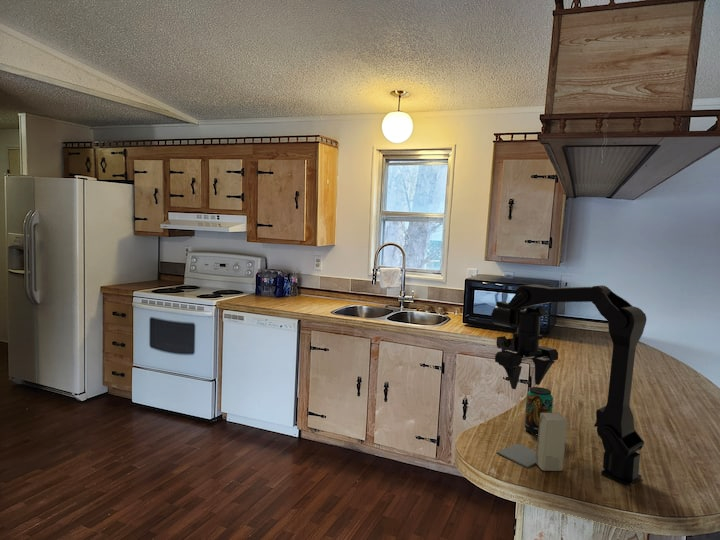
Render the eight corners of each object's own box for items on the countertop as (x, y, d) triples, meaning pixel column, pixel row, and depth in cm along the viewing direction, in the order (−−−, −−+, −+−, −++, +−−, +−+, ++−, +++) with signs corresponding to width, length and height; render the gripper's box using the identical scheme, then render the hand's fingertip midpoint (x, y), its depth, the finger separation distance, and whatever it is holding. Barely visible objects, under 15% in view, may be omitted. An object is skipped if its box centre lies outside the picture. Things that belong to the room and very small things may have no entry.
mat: (548, 458, 119) (549, 456, 119) (527, 467, 114) (527, 466, 114) (518, 444, 127) (518, 443, 127) (496, 453, 121) (496, 451, 121)
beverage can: (524, 433, 134) (526, 392, 133) (524, 424, 141) (527, 384, 140) (551, 438, 132) (553, 395, 131) (550, 428, 138) (553, 388, 137)
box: (554, 461, 117) (561, 412, 115) (562, 472, 113) (569, 421, 111) (533, 460, 117) (539, 411, 115) (540, 471, 112) (547, 419, 111)
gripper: (528, 323, 141) (526, 374, 142) (481, 327, 132) (479, 382, 133) (560, 330, 132) (558, 385, 133) (512, 335, 123) (509, 394, 124)
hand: (525, 386), depth 131 cm, fingers open, 9 cm apart
